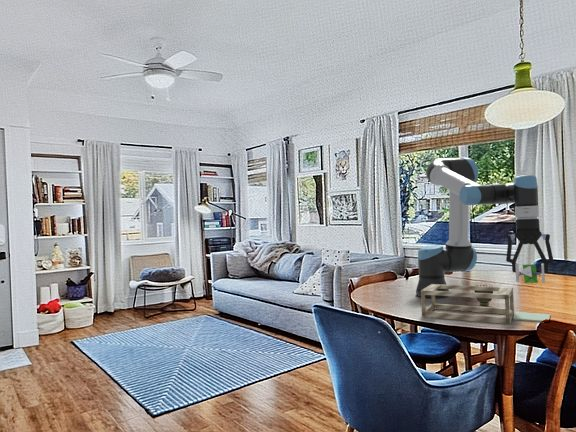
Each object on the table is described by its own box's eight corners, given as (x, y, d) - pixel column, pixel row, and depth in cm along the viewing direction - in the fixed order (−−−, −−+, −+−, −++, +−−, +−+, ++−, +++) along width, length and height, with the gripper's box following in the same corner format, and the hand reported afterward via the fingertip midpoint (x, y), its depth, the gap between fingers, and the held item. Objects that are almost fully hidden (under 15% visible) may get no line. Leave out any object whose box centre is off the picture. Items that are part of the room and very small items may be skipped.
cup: (493, 308, 174) (492, 288, 174) (473, 306, 178) (472, 287, 178) (495, 304, 181) (494, 285, 181) (476, 303, 184) (475, 284, 184)
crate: (422, 316, 165) (420, 290, 165) (432, 308, 179) (431, 284, 179) (509, 324, 149) (508, 295, 149) (514, 314, 163) (512, 287, 163)
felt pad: (513, 319, 154) (513, 318, 154) (516, 313, 164) (516, 311, 164) (549, 322, 149) (549, 321, 149) (550, 315, 158) (549, 314, 158)
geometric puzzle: (517, 274, 162) (518, 258, 158) (538, 274, 160) (539, 258, 155) (520, 288, 157) (521, 272, 152) (542, 288, 154) (543, 272, 150)
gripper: (494, 219, 159) (498, 282, 158) (560, 217, 148) (563, 284, 147) (497, 219, 165) (500, 279, 165) (560, 216, 154) (563, 281, 154)
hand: (530, 281), depth 156 cm, fingers closed on geometric puzzle, 7 cm apart
